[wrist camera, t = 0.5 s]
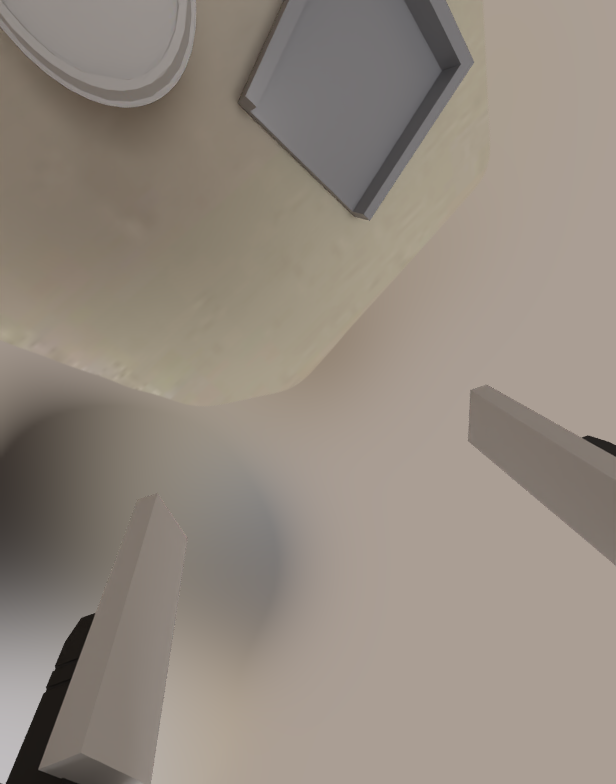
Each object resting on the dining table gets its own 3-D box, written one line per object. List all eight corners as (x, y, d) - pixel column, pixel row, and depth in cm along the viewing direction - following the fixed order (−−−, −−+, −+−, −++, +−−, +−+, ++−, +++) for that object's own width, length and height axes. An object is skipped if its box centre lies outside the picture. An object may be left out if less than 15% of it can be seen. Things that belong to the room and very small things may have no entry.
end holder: (237, 102, 26) (245, 95, 23) (342, -129, 21) (366, -171, 18) (354, 216, 34) (369, 220, 32) (447, 71, 30) (474, 62, 27)
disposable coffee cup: (137, -97, 19) (108, -332, 10) (208, 104, 25) (230, 71, 16) (-16, -56, 18) (-198, -274, 9) (98, 143, 24) (57, 131, 15)
